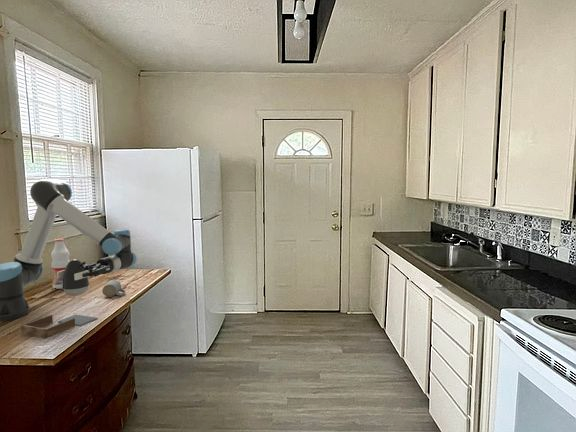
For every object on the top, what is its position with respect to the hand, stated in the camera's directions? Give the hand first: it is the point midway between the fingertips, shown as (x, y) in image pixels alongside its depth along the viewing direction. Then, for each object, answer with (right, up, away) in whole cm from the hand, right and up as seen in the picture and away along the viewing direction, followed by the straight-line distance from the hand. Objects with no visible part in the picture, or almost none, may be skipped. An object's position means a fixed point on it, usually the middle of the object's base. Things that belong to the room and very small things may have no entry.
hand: (66, 276), depth 158 cm
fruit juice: (-38, -16, +60) cm, 72 cm away
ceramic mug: (0, -17, +43) cm, 47 cm away
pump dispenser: (+2, -9, +5) cm, 10 cm away
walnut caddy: (-4, -21, -4) cm, 22 cm away
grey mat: (+2, -20, +6) cm, 21 cm away
